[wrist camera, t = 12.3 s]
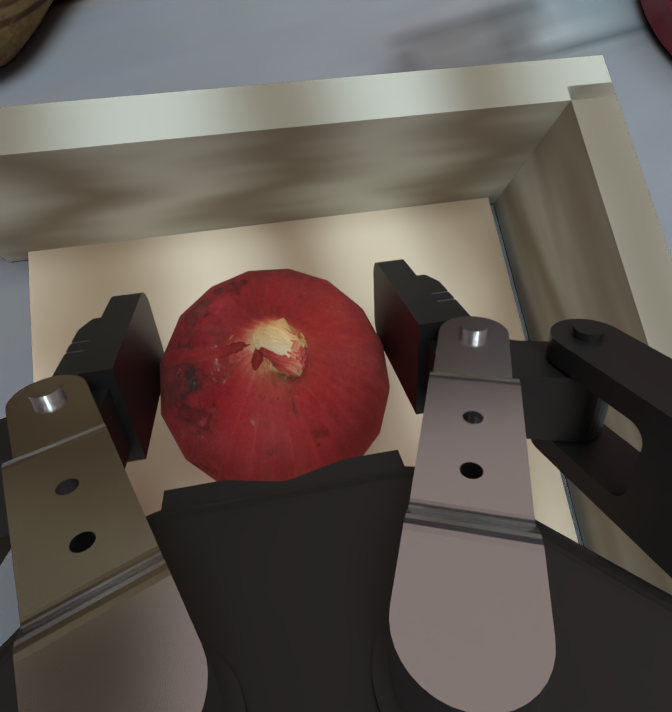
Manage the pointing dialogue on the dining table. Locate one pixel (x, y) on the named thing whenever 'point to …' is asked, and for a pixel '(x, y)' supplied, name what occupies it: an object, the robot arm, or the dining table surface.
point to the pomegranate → (273, 378)
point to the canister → (660, 20)
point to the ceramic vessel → (19, 24)
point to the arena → (348, 221)
